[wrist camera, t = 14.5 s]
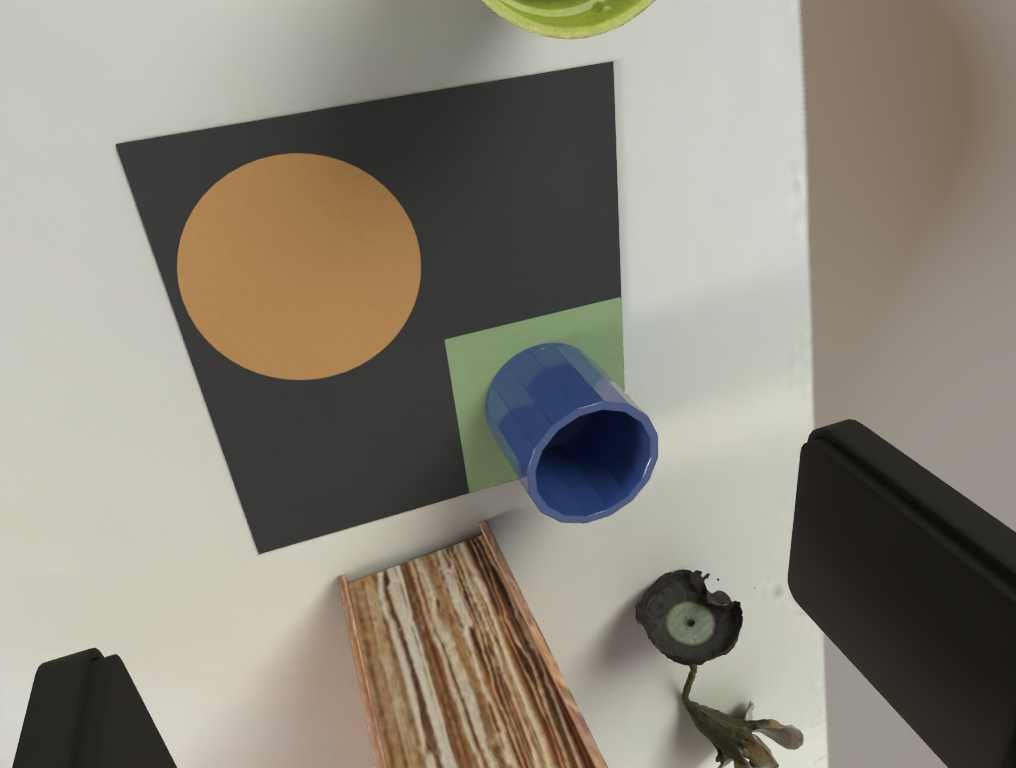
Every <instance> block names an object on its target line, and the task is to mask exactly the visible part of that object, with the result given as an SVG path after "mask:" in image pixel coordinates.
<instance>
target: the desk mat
mask: <svg viewBox="0 0 1016 768" xmlns="http://www.w3.org/2000/svg"><path fill="white" fill-rule="evenodd" d="M116 147H117V149H118V152H119V155H120V158H121V161H122V164H123V167H124V169H125V172H126V175H127V178H128V181H129V184H130V187H131V189H132V192H133V195H134V198H135V201H136V204H137V207H138V209H139V212H140V215H141V218H142V221H143V224H144V227H145V229H146V232H147V235H148V238H149V241H150V244H151V247H152V249H153V252H154V255H155V258H156V261H157V264H158V267H159V269H160V272H161V275H162V278H163V281H164V284H165V287H166V289H167V292H168V295H169V298H170V301H171V304H172V307H173V309H174V312H175V315H176V318H177V321H178V324H179V327H180V329H181V332H182V335H183V338H184V341H185V344H186V347H187V349H188V352H189V355H190V358H191V361H192V364H193V367H194V369H195V372H196V375H197V378H198V381H199V384H200V386H201V389H202V392H203V395H204V398H205V401H206V404H207V406H208V409H209V412H210V415H211V418H212V421H213V424H214V426H215V429H216V432H217V435H218V438H219V441H220V444H221V446H222V449H223V452H224V455H225V458H226V461H227V464H228V466H229V469H230V472H231V475H232V478H233V481H234V484H235V486H236V489H237V492H238V495H239V498H240V501H241V504H242V506H243V509H244V512H245V515H246V518H247V521H248V524H249V526H250V529H251V532H252V535H253V538H254V541H255V544H256V546H257V549H258V552H259V554H261V553H264V552H268V551H271V550H275V549H278V548H281V547H285V546H288V545H292V544H295V543H299V542H302V541H306V540H309V539H312V538H316V537H319V536H323V535H326V534H330V533H333V532H337V531H340V530H343V529H347V528H350V527H354V526H357V525H361V524H364V523H368V522H371V521H375V520H378V519H381V518H385V517H388V516H392V515H395V514H399V513H402V512H406V511H409V510H412V509H416V508H419V507H423V506H426V505H430V504H433V503H437V502H440V501H443V500H447V499H450V498H454V497H457V496H461V495H464V494H468V493H471V492H475V491H478V490H482V489H485V488H489V487H492V486H496V485H499V484H502V483H506V482H509V481H513V480H516V479H519V478H518V476H517V474H516V473H515V471H514V469H513V468H512V466H511V464H510V463H509V461H508V459H507V458H506V456H505V454H504V453H503V451H502V449H501V448H500V446H499V444H498V443H497V441H496V439H495V438H494V436H493V434H492V433H491V430H490V428H489V425H488V423H487V419H486V414H485V403H486V397H487V392H488V390H489V387H490V384H491V382H492V380H493V378H494V377H495V375H496V374H497V372H498V371H499V370H500V369H501V368H502V366H503V365H504V364H505V363H506V362H507V361H509V360H510V359H511V358H512V357H514V356H515V355H516V354H518V353H520V352H521V351H523V350H525V349H528V348H530V347H533V346H536V345H539V344H545V343H563V344H568V345H571V346H574V347H576V348H578V349H580V350H581V351H583V352H584V353H585V354H587V355H588V356H589V357H590V358H591V359H593V360H594V361H595V362H596V363H597V364H598V365H599V366H600V367H601V368H602V369H603V370H604V371H605V372H606V373H607V374H608V375H609V377H610V378H611V379H612V380H613V381H614V382H615V383H616V384H617V385H618V386H619V387H620V388H621V389H622V390H623V391H624V363H623V333H622V304H621V276H620V247H619V217H618V188H617V159H616V129H615V100H614V70H613V62H607V63H601V64H595V65H589V66H583V67H577V68H571V69H565V70H559V71H553V72H547V73H541V74H535V75H529V76H523V77H517V78H511V79H505V80H499V81H493V82H487V83H481V84H475V85H469V86H463V87H457V88H451V89H445V90H439V91H433V92H427V93H421V94H415V95H409V96H403V97H397V98H391V99H385V100H379V101H373V102H367V103H360V104H354V105H348V106H342V107H336V108H330V109H324V110H318V111H312V112H306V113H300V114H294V115H288V116H282V117H276V118H270V119H264V120H258V121H252V122H246V123H240V124H234V125H228V126H222V127H216V128H210V129H204V130H198V131H192V132H186V133H180V134H174V135H168V136H162V137H156V138H150V139H144V140H138V141H132V142H126V143H120V144H116Z"/></svg>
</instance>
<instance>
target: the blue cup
mask: <svg viewBox="0 0 1016 768" xmlns="http://www.w3.org/2000/svg"><path fill="white" fill-rule="evenodd" d="M485 414H486V419H487V423H488V425H489V428H490V430H491V433H492V434H493V436H494V438H495V439H496V441H497V443H498V444H499V446H500V448H501V449H502V451H503V453H504V454H505V456H506V458H507V459H508V461H509V463H510V464H511V466H512V468H513V469H514V471H515V473H516V474H517V476H518V478H519V479H520V481H521V483H522V484H523V486H524V488H525V489H526V491H527V493H528V494H529V496H530V497H531V499H532V500H533V502H534V503H535V504H536V506H537V507H538V509H539V510H540V511H541V512H542V513H543V514H545V515H547V516H549V517H551V518H553V519H555V520H557V521H559V522H562V523H588V522H591V521H594V520H598V519H601V518H604V517H607V516H610V515H612V514H613V513H615V512H616V511H618V510H619V509H621V508H622V507H624V506H625V505H627V504H628V503H630V502H631V501H632V500H633V499H634V498H635V497H636V495H637V494H638V493H639V492H640V491H641V489H642V488H643V487H644V486H645V485H646V483H647V482H648V480H649V479H650V476H651V474H652V471H653V469H654V466H655V464H656V461H657V459H658V435H657V432H656V430H655V429H654V427H653V425H652V423H651V421H650V419H649V417H648V416H647V415H646V414H645V413H644V412H643V411H642V410H641V409H640V408H639V406H638V405H637V404H636V403H635V402H634V401H633V400H632V399H631V398H630V397H629V396H628V395H627V394H626V393H625V392H624V391H623V390H622V389H621V388H620V387H619V386H618V385H617V384H616V383H615V382H614V381H613V380H612V379H611V378H610V377H609V375H608V374H607V373H606V372H605V371H604V370H603V369H602V368H601V367H600V366H599V365H598V364H597V363H596V362H595V361H594V360H593V359H591V358H590V357H589V356H588V355H587V354H585V353H584V352H583V351H581V350H580V349H578V348H576V347H574V346H571V345H568V344H563V343H545V344H539V345H536V346H533V347H530V348H528V349H525V350H523V351H521V352H520V353H518V354H516V355H515V356H514V357H512V358H511V359H510V360H509V361H507V362H506V363H505V364H504V365H503V366H502V368H501V369H500V370H499V371H498V372H497V374H496V375H495V377H494V378H493V380H492V382H491V384H490V387H489V390H488V392H487V397H486V403H485Z"/></svg>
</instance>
